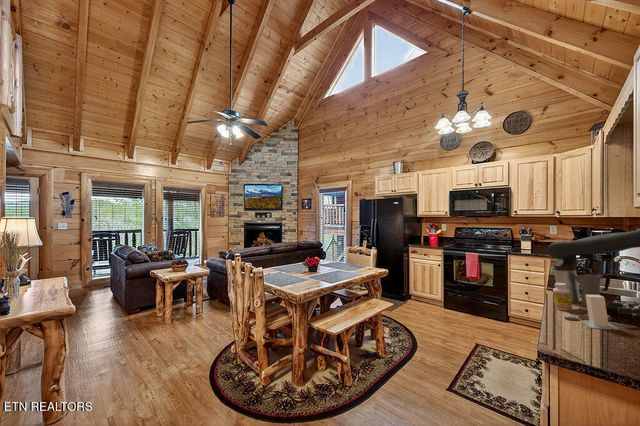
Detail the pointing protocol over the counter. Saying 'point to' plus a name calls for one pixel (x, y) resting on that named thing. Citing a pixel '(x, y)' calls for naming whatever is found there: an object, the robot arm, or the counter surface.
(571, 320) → the hole
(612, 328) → the tile
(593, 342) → the counter surface
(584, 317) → the corral
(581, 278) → the coffeepot
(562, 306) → the supplement bottle
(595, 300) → the block
